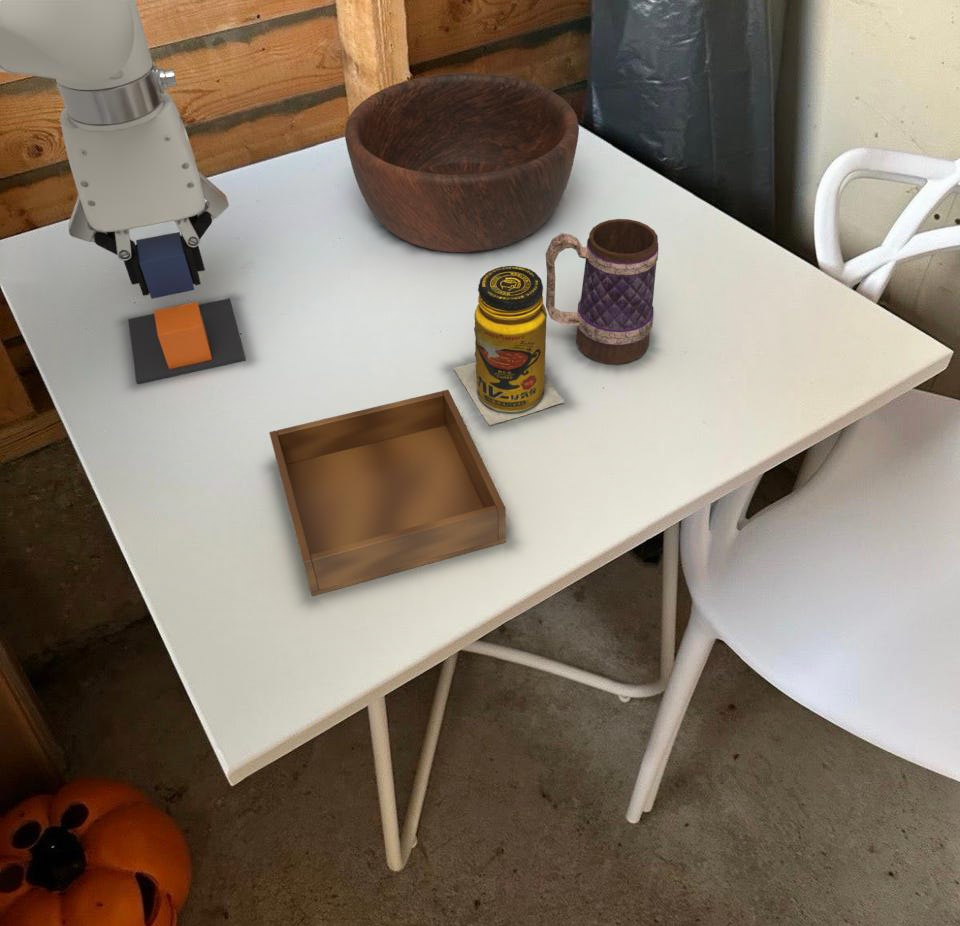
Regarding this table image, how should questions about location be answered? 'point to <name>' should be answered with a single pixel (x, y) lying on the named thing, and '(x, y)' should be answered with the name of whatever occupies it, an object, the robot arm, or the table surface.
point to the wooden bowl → (462, 158)
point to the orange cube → (182, 335)
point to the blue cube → (164, 265)
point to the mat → (223, 352)
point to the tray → (386, 491)
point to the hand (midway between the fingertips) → (170, 280)
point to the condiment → (509, 347)
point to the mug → (610, 289)
